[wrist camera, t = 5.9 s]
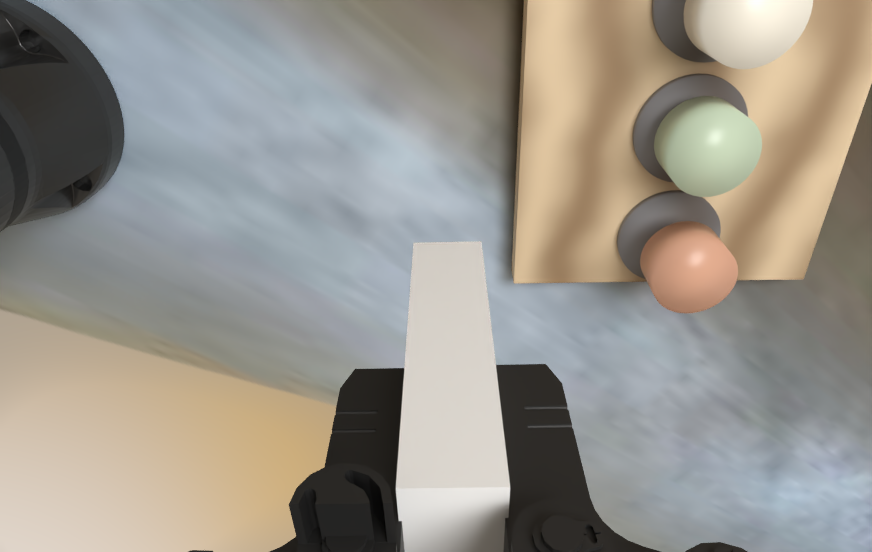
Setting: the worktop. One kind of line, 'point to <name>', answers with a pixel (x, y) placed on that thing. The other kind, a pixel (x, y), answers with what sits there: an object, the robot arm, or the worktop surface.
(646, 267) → the terracotta button
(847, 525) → the worktop surface
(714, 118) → the sage button
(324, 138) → the worktop surface
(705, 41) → the cream button
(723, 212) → the button board
